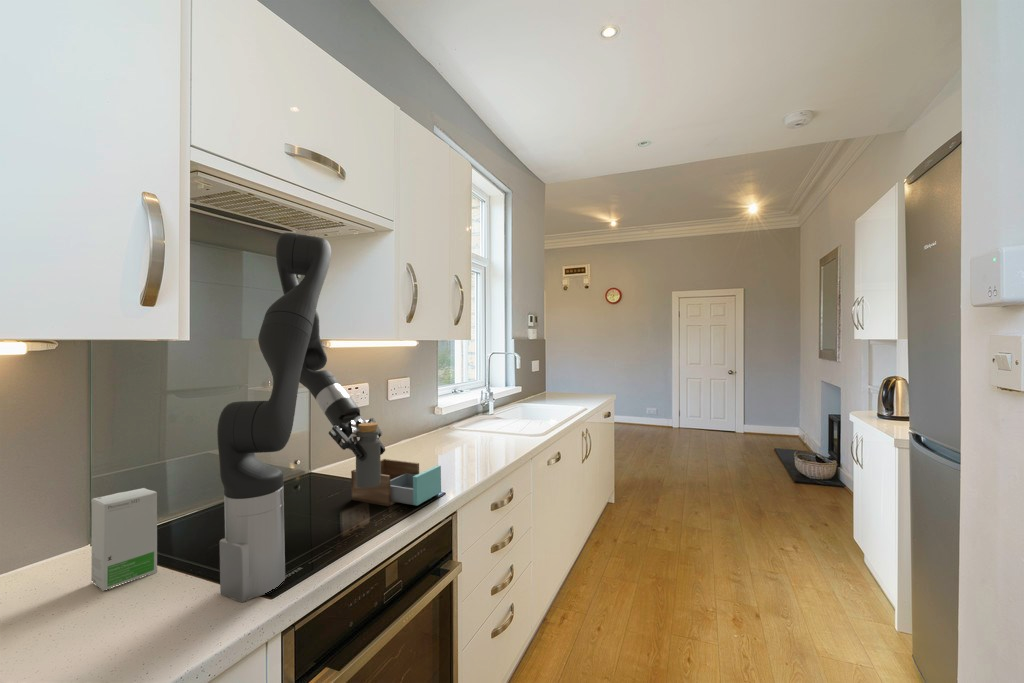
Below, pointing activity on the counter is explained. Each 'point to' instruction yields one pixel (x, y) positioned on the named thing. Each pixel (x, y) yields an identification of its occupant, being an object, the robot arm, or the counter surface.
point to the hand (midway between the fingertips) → (373, 455)
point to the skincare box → (123, 537)
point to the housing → (383, 482)
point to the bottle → (368, 457)
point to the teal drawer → (416, 486)
